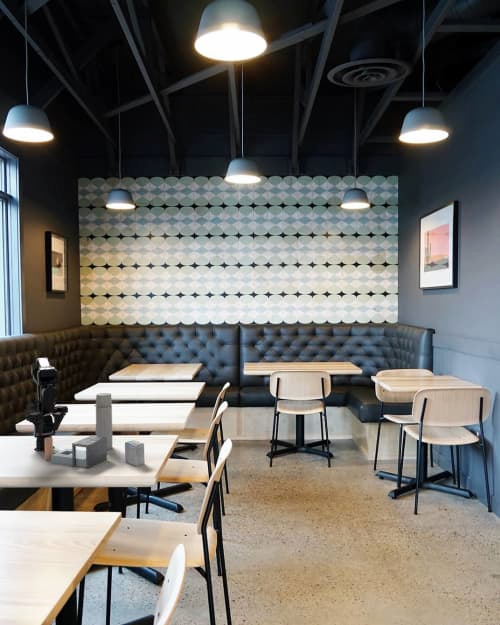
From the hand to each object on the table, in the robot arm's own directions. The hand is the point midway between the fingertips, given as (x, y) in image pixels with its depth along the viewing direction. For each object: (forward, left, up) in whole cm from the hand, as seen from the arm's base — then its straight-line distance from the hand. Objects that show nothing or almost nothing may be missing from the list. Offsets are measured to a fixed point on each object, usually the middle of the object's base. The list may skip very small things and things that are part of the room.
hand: (48, 433), depth 212 cm
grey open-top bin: (-2, +20, -11) cm, 23 cm away
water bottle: (-21, +12, -11) cm, 27 cm away
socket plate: (-2, +14, -11) cm, 18 cm away
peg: (0, 0, -11) cm, 11 cm away
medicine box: (-8, +38, -12) cm, 41 cm away
